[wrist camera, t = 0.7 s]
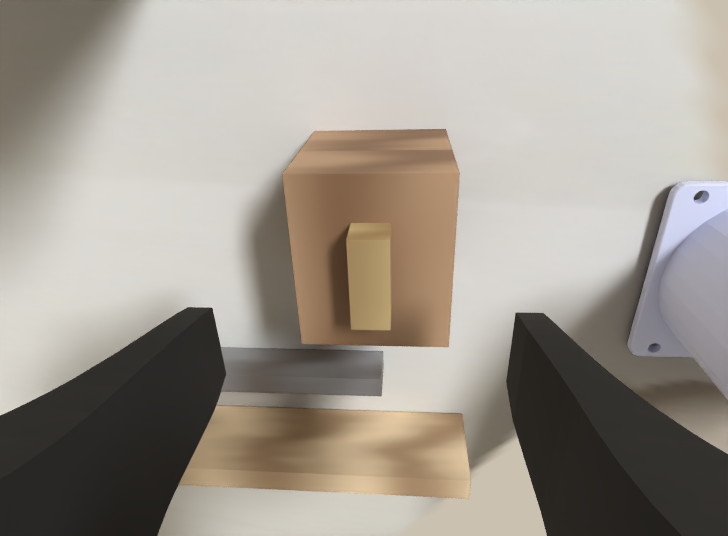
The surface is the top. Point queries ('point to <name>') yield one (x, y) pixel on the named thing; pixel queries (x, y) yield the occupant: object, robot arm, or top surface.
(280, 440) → the cleat board
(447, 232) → the cabinet block
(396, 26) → the top surface
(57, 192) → the top surface
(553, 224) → the top surface
